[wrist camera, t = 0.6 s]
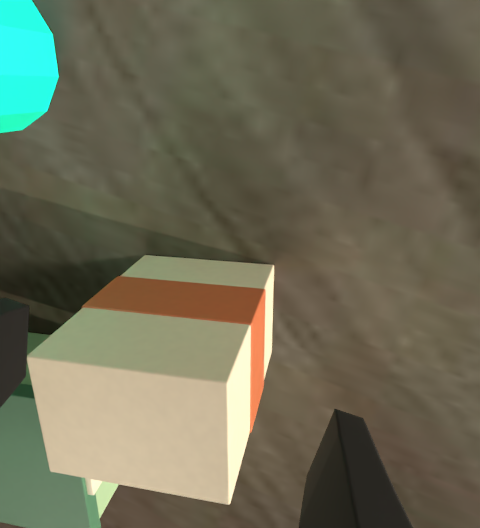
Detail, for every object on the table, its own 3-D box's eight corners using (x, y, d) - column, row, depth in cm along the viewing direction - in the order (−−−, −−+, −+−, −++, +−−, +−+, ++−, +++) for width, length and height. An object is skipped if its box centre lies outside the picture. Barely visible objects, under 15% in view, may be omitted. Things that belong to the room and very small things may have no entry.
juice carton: (272, 352, 21) (231, 507, 13) (150, 338, 22) (47, 473, 15) (275, 263, 19) (230, 381, 12) (143, 253, 21) (22, 353, 13)
